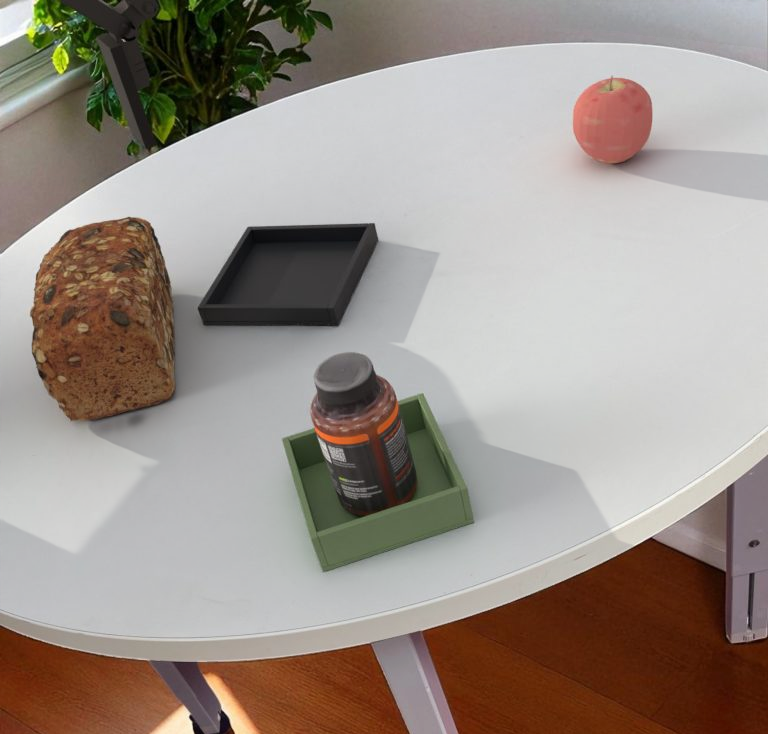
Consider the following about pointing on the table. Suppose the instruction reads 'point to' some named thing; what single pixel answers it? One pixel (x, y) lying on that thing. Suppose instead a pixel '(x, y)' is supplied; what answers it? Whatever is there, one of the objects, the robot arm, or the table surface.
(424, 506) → the bin
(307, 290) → the black square tray
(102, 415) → the bread
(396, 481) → the supplement bottle
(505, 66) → the table surface
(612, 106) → the apple
